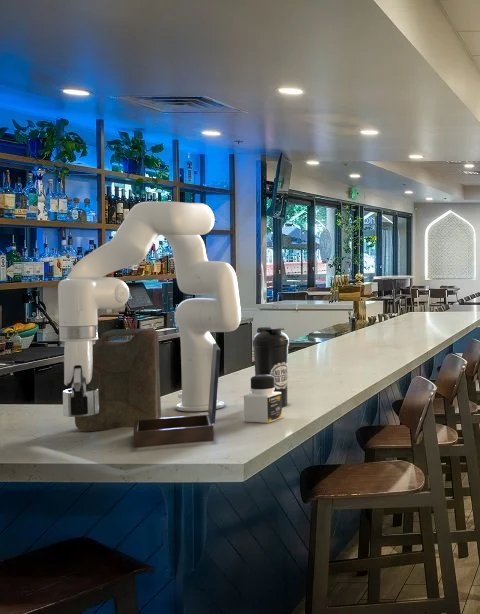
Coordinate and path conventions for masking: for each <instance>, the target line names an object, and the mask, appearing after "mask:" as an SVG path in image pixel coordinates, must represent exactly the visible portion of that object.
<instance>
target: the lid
mask: <svg viewBox="0 0 480 614" xmlns="http://www.w3.org/2000/svg"><path fill="white" fill-rule="evenodd" d="M220 361H221V348H220V347H219V345H218V343H217V342H215V343H213V351H212V365H211V379H210V393H209V407H208V410H207V413H208V414H209V417H210V421H211V424H213V425H215V424H216V417H217V409H216V403H217V389H218V390H219V375H220ZM208 414H207V415H208Z"/></svg>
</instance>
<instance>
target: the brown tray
mask: <svg viewBox="0 0 480 614" xmlns="http://www.w3.org/2000/svg"><path fill="white" fill-rule="evenodd" d="M132 435H133V439H132V440H133V448H134V449H136V448H138V449H139V448H148V447H159V446H160V447H161V446H171V445H181V444H192V443H193V444H194V443H201V442H213V441H214V424H211V421H210V417H209V414H196V415H195V414H194V415H182V416H170V417H160V418H156V419H143V420H135V425H134V427H133V432H132Z"/></svg>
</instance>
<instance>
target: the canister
mask: <svg viewBox="0 0 480 614" xmlns="http://www.w3.org/2000/svg"><path fill="white" fill-rule="evenodd" d="M113 336H114V337H117V336H118V337H119V336H120V337H121V336H133V337H131V338H130V339H129V340H128V339H126V340H111V337H113ZM159 339H160V338H159V333H158V332H157V330H156V329H154V328H150V327H147V328H125V329H121V328H120V329H110V330H108V331H105V332H103V333H102V334H101V335H100V337H99V336H98V339H97V342H96V343H92V348H93V369H92V379H91V381H90V383H89V388H97V389H98V395H99V413H97V414H95V415H89V416H82V417H74V424H75V427H76V428H77V430H80V431H82V432H85V433H86V432H103V431H109V430H110V431H111V430H115V429H121V428H134V425H135V420H143V419H156V418H162V417H161V416H162V405H161V404H162V403H161V402H162V401H161V378H160V377H161V376H160V347H159V346H160V344H159V343H160V342H159V341H160V340H159ZM95 341H96V340H92V342H95Z"/></svg>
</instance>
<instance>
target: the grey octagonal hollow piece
mask: <svg viewBox="0 0 480 614" xmlns="http://www.w3.org/2000/svg"><path fill="white" fill-rule="evenodd" d="M71 392H72V388H68V389H65V390H63V391H62V411H63V416H64V417H68V418H75V417H82V416H89V415H95V414H97V413H99V395H98V389H97V388H86V396H88V414H85V415H72V414H71V397H72V396H71Z"/></svg>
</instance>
